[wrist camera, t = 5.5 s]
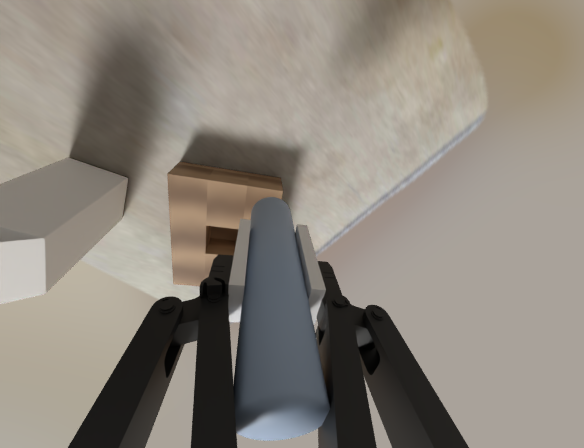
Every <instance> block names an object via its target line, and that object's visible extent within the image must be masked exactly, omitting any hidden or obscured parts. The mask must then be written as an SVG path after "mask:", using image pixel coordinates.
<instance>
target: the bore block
mask: <svg viewBox="0 0 584 448" xmlns="http://www.w3.org/2000/svg"><path fill="white" fill-rule="evenodd" d="M167 175H168V194H169V212H170V230H171V248H172V267H173V284H178V285H192V286H200V284H201V282H202V281H203V280H204V279H205V278H207V277H209V273H210V270H211V267H212V263H213V259H214V258H215V257H216V256H217V255H218V254H221V255H234V252H235V246H236V241H237V235H238V229H239V224H240V219H247V220H251V211H252V208H253V206H254V205H255V204H256V203H257V202H258V201H259V200H261V199H263V198H267V197H276V198H279V199H282V194H283V188H282V182H281V178H279V177H272V176H266V175H260V174H254V173H248V172H241V171H235V170H229V169H223V168H216V167H210V166H204V165H198V164H192V163H185V162H179V163H178V164H177V165H176V166H175V167H174V168H173V169H172V170H171V171H170V172H169V173H168V174H167Z"/></svg>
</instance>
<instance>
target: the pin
mask: <svg viewBox="0 0 584 448" xmlns="http://www.w3.org/2000/svg"><path fill="white" fill-rule="evenodd" d="M233 389H234V405H235V421H236V433H237V434H239V435H241V436H243V437H246V438H250V439H255V440H267V441H268V440H269V441H270V440H283V439H289V438H294V437H298V436H301V435H304V434H307V433H310V432H311V431H314V430H316V429H317V428H319V427H320V426H322V424H323V422H324V420H325V418H326V416H327V414H328V412H329V410H330V404H329V399H328V394H327V390H326V385H325V380H324V375H323V370H322V365H321V360H320V355H319V350H318V345H317V340H316V335H315V330H314V325H313V320H312V315H311V310H310V305H309V300H308V295H307V290H306V285H305V280H304V276H303V271H302V266H301V261H300V256H299V251H298V246H297V241H296V236H295V231H294V226H293V221H292V216H291V211H290V208H289V206H288V205H287V204H286V202H284V201H283V200H281V199H279V198H276V197H267V198H263V199H261V200H259V201H258V202H257V203H256V204H255V205H254V206H253V208H252V211H251V225H250V235H249V245H248V255H247V265H246V275H245V286H244V295H243V301H242V307H241V317H240V328H239V336H238V346H237V356H236V366H235V375H234V385H233Z"/></svg>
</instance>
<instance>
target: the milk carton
mask: <svg viewBox="0 0 584 448" xmlns="http://www.w3.org/2000/svg"><path fill="white" fill-rule="evenodd" d="M127 184H128V178H127V177H124V176H121V175H118V174H115V173H112V172H109V171H106V170H103V169H100V168H98V167H95V166H92V165H89V164H86V163H83V162H80V161H77V160H74V159H71V158H65V159H63V160H60V161H58V162H55V163H53V164H50V165H48V166H45V167H43V168H40V169H38V170H35V171H32V172H30V173H27V174H25V175H22V176H20V177H17V178H15V179H12V180H10V181H7V182H5V183H2V184H0V304H3V303H8V302H12V301H17V300H21V299H25V298H30V297H34V296H38V295H43V294H46V293H47V292H48V290H50V289H51V287H52V286H54V285H55V284H56V283H57V282H58V281H59V280H60V279H61V278H62V277H63V276H64V275H65V274H66V273H67V272H68V271H69V270H70V269H71V268H72V267H73V266H74V265H75V264H76V263H77V262H78V261H79V260H80V259H81V258H82V257H83V256H84V255H85V254H86V253H87V252H88V251H89V250H91V249H92V248H93V247H94V246H95V245H96V244H97V243H98V242H99V241H100V240H101V239H102V238H103V237H104V236H105V235H106V234H107V233H108V232H109V231H110V230H111V229H112V228H113V227H114V226H115V225H116V224H117V223H118V222H119V221H120V220H121V219H122V217H123V210H124V204H125V197H126V191H127Z"/></svg>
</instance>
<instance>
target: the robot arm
mask: <svg viewBox="0 0 584 448" xmlns="http://www.w3.org/2000/svg"><path fill="white" fill-rule="evenodd" d="M250 225H251V220H247V219H240V224H239V229H238V235H237V241H236V246H235V252H234V255H221V254H218V255H217V256H216V257H215V258H214V259H213V263H212V267H211V270H210V273H209V277H207V278H205V279H204V280H203V281H202V282H201V284H200V296H199V297H197V298H195V299H192V300H188V301H183V302H182V301H181V300H180V299H179V298H176V297H165V298H162V299H160V300H158V301H156V302H155V303H154V304H153V306H152V307H151V309H150V311H149V312H148V314H147V315H146V317H145V319H144V320H143V322H142V324H141V326H140V327H139V329H138V331H137V332H136V334H135V336H134V337H133V339H132V341H131V342H130V344H129V346H128V348H127V349H126V351H125V353H124V354H123V356H122V357H121V359H120V361H119V363H118V364H117V366H116V368H115V369H114V371H113V373H112V374H111V376H110V378H109V380H108V381H107V383H106V384H105V386H104V388H103V389H102V391H101V393H100V394H99V396H98V398H97V399H96V401H95V403H94V405H93V406H92V408H91V410H90V411H89V413H88V415H87V416H86V418H85V420H84V421H83V423H82V425H81V426H80V428H79V430H78V431H77V433H76V435H75V437H74V439H73V440H72V442H71V443H70V445H69V447H68V448H145V446H146V443H147V440H148V438H149V435H150V433H151V430H152V427H153V425H154V422H155V420H156V417H157V415H158V412H159V409H160V407H161V404H162V401H163V399H164V396H165V394H166V391H167V388H168V386H169V383H170V381H171V378H172V375H173V373H174V370H175V368H176V365H177V362H178V360H179V357H180V354H181V352H182V349H183V346H184V344H186V343H190V342H193V341H196V340H197V355H196V372H195V389H194V405H193V421H192V439H191V448H237V438H236V421H235V405H234V389H233V374H232V358H231V341H230V325H229V322H240V317H241V307H242V301H243V295H244V286H245V275H246V265H247V255H248V245H249V235H250ZM295 236H296V241H297V246H298V251H299V256H300V261H301V266H302V271H303V276H304V280H305V285H306V290H307V295H308V300H309V305H310V310H311V315H312V320H313V324H315V322H316V319H317V320H318V327H317V330H316V333H315V335H316V337H317V345H318V350H319V355H320V360H321V365H322V370H323V375H324V380H325V385H326V390H327V394H328V399H329V404H330V410H329V412H328V414H327V416H326V418H325V420H324V422H323V424H322V426H320V427H319V428H318V438H319V439H318V442H319V448H377V447H376V442H375V436H374V431H373V426H372V420H371V414H370V409H369V404H368V398H367V393H366V387H365V381H364V377H365V380H366V382H367V385H368V387H369V390H370V392H371V395H372V397H373V400H374V402H375V405H376V407H377V410H378V412H379V415H380V417H381V420H382V422H383V425H384V427H385V430H386V432H387V435H388V438H389V440H390V443H391V445H392V448H469V447H468V445H467V444H466V442H465V440H464V439H463V437H462V436H461V434H460V432H459V430H458V429H457V427H456V426H455V424H454V422H453V421H452V419H451V417H450V416H449V414H448V412H447V411H446V409H445V407H444V406H443V404H442V402H441V401H440V400H439V397H438V396H437V394H436V392H435V391H434V389H433V388H432V386H431V384H430V382H429V381H428V379H427V378H426V376H425V374H424V373H423V371H422V369H421V368H420V366H419V364H418V363H417V361H416V359H415V358H414V356H413V354H412V353H411V351H410V350H409V348H408V346H407V344H406V343H405V341H404V339H403V338H402V336H401V334H400V333H399V331H398V330H397V328H396V326H395V325H394V323H393V321H392V320H391V318H390V316H389V315H388V313H387V312H386V311H385V310H384V309H382V308H381V307H379V306H377V305H368V306H367V307H366V309H362V308H359V307H355V306H353V305H351V304H350V302H349V301H348V299H347V298H346V297H344V296H342V293H341V290H340V288H339V285H338V282H337V279H336V277H335V274H334V271H333V269H332V267H331V266H330V264H329V263H328V262H322V261H317V258H316V254H315V251H314V248H313V244H312V241H311V237H310V234H309V231H308V227H307V225H297V228H296V232H295ZM363 375H364V376H363Z"/></svg>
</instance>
